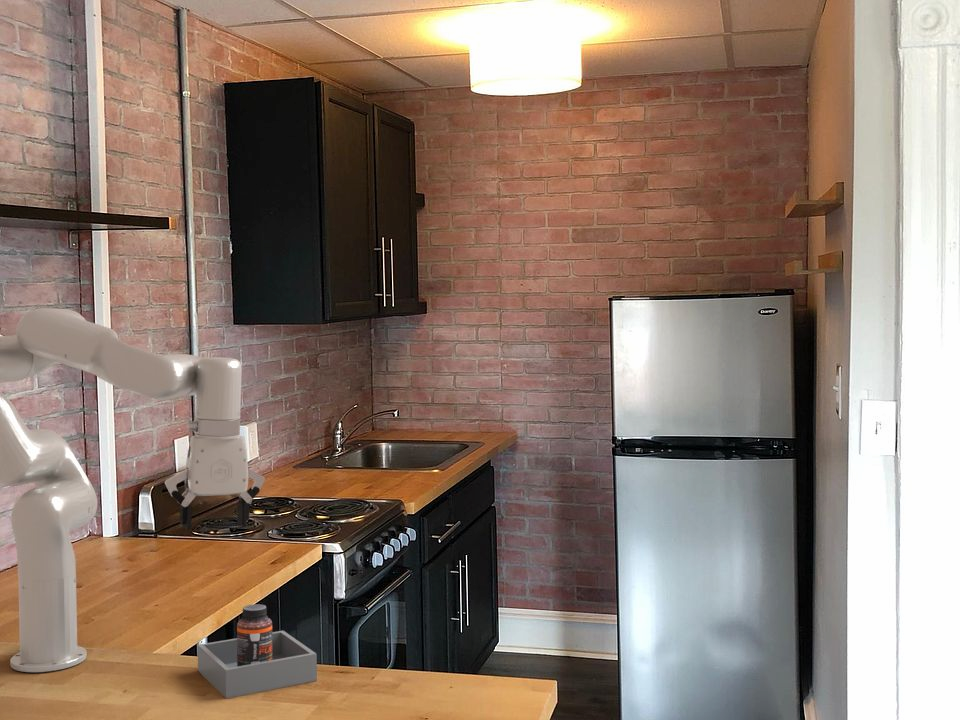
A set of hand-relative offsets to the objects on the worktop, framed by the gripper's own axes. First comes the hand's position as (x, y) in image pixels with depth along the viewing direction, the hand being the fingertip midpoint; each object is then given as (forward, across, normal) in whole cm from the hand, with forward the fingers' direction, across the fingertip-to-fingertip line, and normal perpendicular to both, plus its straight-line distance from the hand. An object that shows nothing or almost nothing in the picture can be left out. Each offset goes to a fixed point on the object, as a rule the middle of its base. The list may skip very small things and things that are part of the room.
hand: (214, 526), depth 180 cm
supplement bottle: (+24, +5, -8) cm, 26 cm away
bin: (+25, +6, -8) cm, 27 cm away
